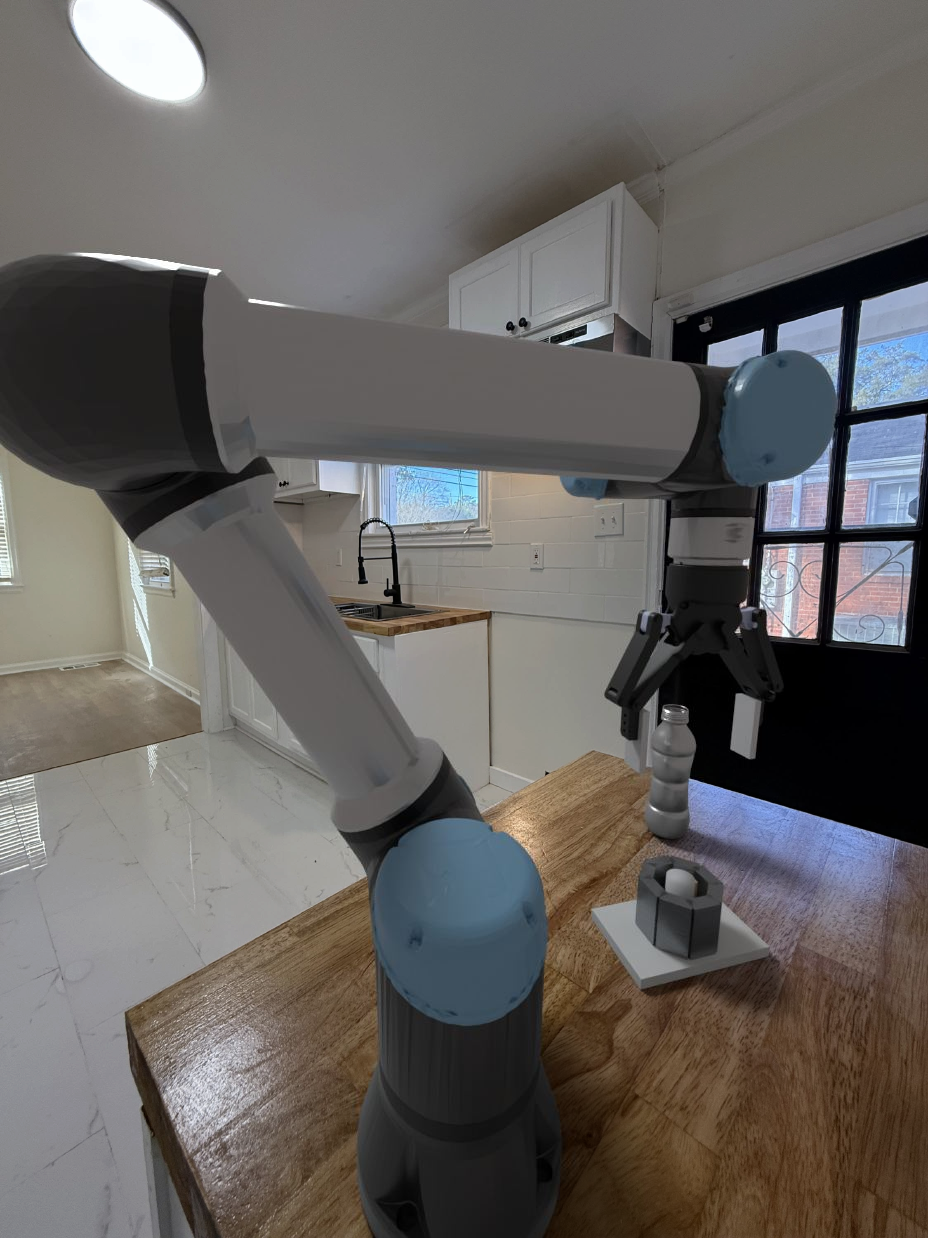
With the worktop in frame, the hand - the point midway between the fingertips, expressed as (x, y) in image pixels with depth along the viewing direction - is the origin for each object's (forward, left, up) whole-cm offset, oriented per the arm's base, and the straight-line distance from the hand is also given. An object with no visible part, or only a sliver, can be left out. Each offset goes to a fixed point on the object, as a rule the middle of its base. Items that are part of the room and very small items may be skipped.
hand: (690, 760), depth 54 cm
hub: (0, 0, -20) cm, 20 cm away
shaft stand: (0, 0, -22) cm, 22 cm away
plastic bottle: (+12, +18, -22) cm, 31 cm away
